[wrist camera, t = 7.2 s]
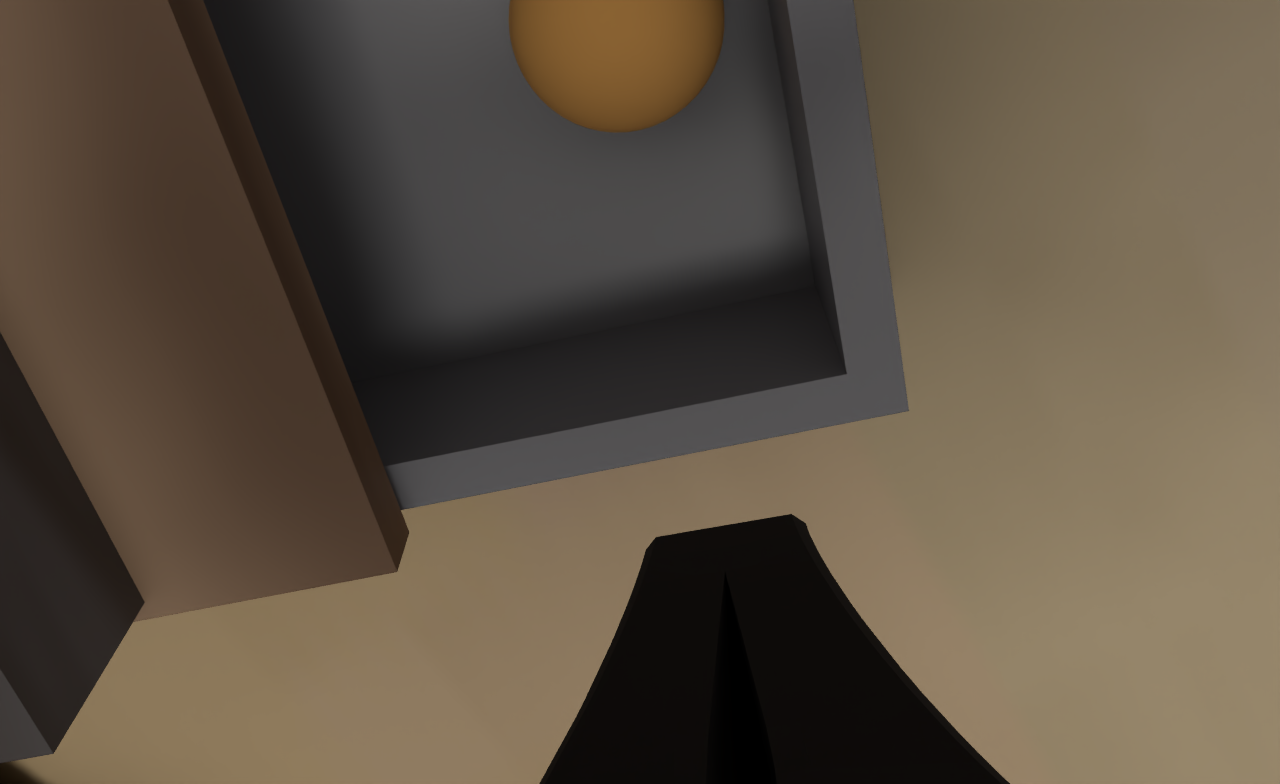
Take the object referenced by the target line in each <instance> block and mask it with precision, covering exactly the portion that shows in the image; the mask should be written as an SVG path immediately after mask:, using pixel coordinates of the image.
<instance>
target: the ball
mask: <svg viewBox="0 0 1280 784" xmlns="http://www.w3.org/2000/svg"><path fill="white" fill-rule="evenodd" d="M509 33H510V39H511V44H512V49H513V52H514V55H515V58H516V61H517V64H518V66H519V68H520V70H521V72H522V74H523V76H524V77H525V79H526V80H527V82H528V84H529V85H530V87H531V88H532V90H533V91H534V92H535V93H536V94H537V95H538V97H539V98H540V99H541V100H542V101H543V102H544V103H545V104H546V105H547V106H548V107H550V108H551V109H552V110H553V111H555V112H556V113H558V114H559V115H560V116H562V117H563V118H565V119H567V120H569V121H571V122H573V123H575V124H577V125H580V126H583V127H585V128H589V129H593V130H597V131H603V132H613V133H616V132H631V131H638V130H642V129H645V128H649V127H652V126H655V125H657V124H659V123H661V122H664V121H666V120H667V119H669V118H671V117H672V116H674V115H676V114H677V113H678V112H680V111H681V110H682V109H683V108H685V107H686V106H687V105H688V104H689V103H690V102H691V101H692V100H693V99H694V98H695V97H696V96H697V95H698V94H699V92H700V91H701V90H702V88H703V87H704V85H705V84H706V83H707V81H708V79H709V77H710V76H711V74H712V72H713V70H714V68H715V65H716V63H717V60H718V58H719V55H720V51H721V47H722V43H723V36H724V4H723V0H510V4H509Z"/></svg>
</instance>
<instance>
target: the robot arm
mask: <svg viewBox="0 0 1280 784" xmlns="http://www.w3.org/2000/svg"><path fill="white" fill-rule="evenodd" d="M540 784H1010V783H1009V782H1008V781H1006V780H1005V779H1004V778H1003V777H1002V776H1001V775H1000V774H999V773H998V772H997V771H996V770H995V769H994V768H993V767H992V766H991V765H990V764H989V763H988V762H987V761H986V760H985V759H984V758H983V757H982V756H981V755H980V754H979V753H978V752H977V751H976V750H975V749H974V748H973V747H972V746H971V745H970V744H969V743H968V742H967V741H966V740H965V739H964V738H963V737H962V736H961V735H960V734H959V733H958V732H957V730H956V729H955V728H954V727H953V726H952V725H951V724H950V723H949V722H948V721H947V720H946V718H945V717H944V716H943V715H942V714H941V713H940V712H939V711H938V710H937V709H936V708H935V706H934V705H933V704H932V703H931V702H930V701H929V700H928V699H927V698H926V697H925V696H924V694H923V693H922V692H921V691H920V690H919V689H918V687H917V686H916V685H915V684H914V683H913V682H912V680H911V679H910V678H909V677H908V676H907V675H906V673H905V672H904V671H903V670H902V669H901V668H900V666H899V665H898V664H897V663H896V661H895V660H894V659H893V657H892V656H891V655H890V654H889V652H888V651H887V650H886V649H885V647H884V646H883V645H882V644H881V642H880V641H879V640H878V639H877V637H876V636H875V635H874V633H873V632H872V631H871V630H870V628H869V627H868V626H867V625H866V623H865V622H864V621H863V619H862V618H861V617H860V615H859V614H858V612H857V611H856V610H855V608H854V607H853V606H852V604H851V603H850V601H849V600H848V598H847V597H846V595H845V594H844V592H843V591H842V589H841V588H840V586H839V585H838V583H837V582H836V580H835V579H834V577H833V576H832V574H831V573H830V571H829V569H828V568H827V566H826V564H825V563H824V561H823V559H822V558H821V556H820V554H819V552H818V550H817V548H816V546H815V544H814V542H813V540H812V538H811V536H810V534H809V531H808V529H807V526H806V523H804V522H803V521H801V520H800V519H798V518H797V517H795V516H794V515H792V514H789V515H783V516H777V517H772V518H766V519H760V520H754V521H748V522H742V523H736V524H730V525H724V526H719V527H713V528H707V529H701V530H695V531H689V532H683V533H677V534H672V535H666V536H660V537H656V538H655V539H654V540H653V542H652V543H651V544H650V545H649V547H648V548H647V549H646V552H645V555H644V559H643V562H642V565H641V568H640V571H639V574H638V577H637V580H636V583H635V586H634V588H633V591H632V594H631V596H630V599H629V602H628V604H627V607H626V609H625V612H624V614H623V617H622V619H621V621H620V624H619V626H618V629H617V631H616V633H615V636H614V638H613V641H612V643H611V645H610V647H609V649H608V651H607V654H606V656H605V658H604V660H603V662H602V664H601V666H600V669H599V671H598V673H597V675H596V677H595V679H594V681H593V684H592V686H591V688H590V690H589V692H588V694H587V696H586V699H585V701H584V703H583V705H582V707H581V709H580V710H579V712H578V714H577V716H576V718H575V720H574V722H573V724H572V726H571V727H570V729H569V731H568V733H567V735H566V736H565V738H564V740H563V742H562V744H561V746H560V747H559V749H558V751H557V753H556V755H555V756H554V758H553V760H552V762H551V764H550V766H549V767H548V769H547V771H546V773H545V775H544V776H543V778H542V780H541V782H540Z"/></svg>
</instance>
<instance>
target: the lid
mask: <svg viewBox="0 0 1280 784" xmlns="http://www.w3.org/2000/svg"><path fill="white" fill-rule="evenodd" d="M408 535H409V530H408V528H407V525H406V523H405V520H404V518H403V515H402V512H401V510H400V507H399V505H398V502H397V500H396V497H395V494H394V492H393V489H392V487H391V484H390V481H389V479H388V476H387V474H386V471H385V469H384V466H383V463H382V461H381V458H380V456H379V453H378V450H377V448H376V445H375V443H374V440H373V438H372V435H371V432H370V430H369V427H368V425H367V422H366V420H365V417H364V414H363V412H362V409H361V407H360V404H359V401H358V399H357V396H356V394H355V391H354V389H353V386H352V383H351V381H350V378H349V376H348V373H347V370H346V368H345V365H344V363H343V360H342V358H341V355H340V352H339V350H338V347H337V345H336V342H335V339H334V337H333V334H332V332H331V329H330V327H329V324H328V321H327V319H326V316H325V314H324V311H323V309H322V306H321V303H320V301H319V298H318V296H317V293H316V290H315V288H314V285H313V283H312V280H311V278H310V275H309V272H308V270H307V267H306V265H305V262H304V259H303V257H302V254H301V252H300V249H299V247H298V244H297V241H296V239H295V236H294V234H293V231H292V229H291V226H290V223H289V221H288V218H287V216H286V213H285V210H284V208H283V205H282V203H281V200H280V198H279V195H278V192H277V190H276V187H275V185H274V182H273V179H272V177H271V174H270V172H269V169H268V167H267V164H266V161H265V159H264V156H263V154H262V151H261V148H260V146H259V143H258V141H257V138H256V136H255V133H254V130H253V128H252V125H251V123H250V120H249V118H248V115H247V112H246V110H245V107H244V105H243V102H242V99H241V97H240V94H239V92H238V89H237V87H236V84H235V81H234V79H233V76H232V74H231V71H230V68H229V66H228V63H227V61H226V58H225V56H224V53H223V50H222V48H221V45H220V43H219V40H218V38H217V35H216V32H215V30H214V27H213V25H212V22H211V19H210V17H209V14H208V12H207V9H206V7H205V4H204V1H203V0H0V763H4V762H9V761H15V760H21V759H26V758H32V757H37V756H43V755H49V754H54V752H55V750H56V749H57V747H58V745H59V744H60V742H61V740H62V739H63V737H64V735H65V734H66V732H67V730H68V729H69V727H70V725H71V724H72V722H73V720H74V719H75V717H76V716H77V714H78V712H79V711H80V709H81V707H82V706H83V704H84V702H85V701H86V699H87V697H88V696H89V694H90V692H91V691H92V689H93V687H94V686H95V684H96V682H97V681H98V679H99V677H100V676H101V674H102V673H103V671H104V669H105V668H106V666H107V664H108V663H109V661H110V659H111V658H112V656H113V654H114V653H115V651H116V649H117V648H118V646H119V644H120V643H121V641H122V639H123V638H124V636H125V634H126V633H127V631H128V630H129V628H130V626H131V625H132V623H133V622H135V621H141V620H146V619H151V618H156V617H162V616H167V615H172V614H178V613H183V612H188V611H193V610H199V609H204V608H209V607H214V606H220V605H225V604H230V603H236V602H241V601H246V600H251V599H257V598H262V597H267V596H273V595H278V594H283V593H288V592H294V591H299V590H304V589H309V588H315V587H320V586H325V585H331V584H336V583H341V582H346V581H352V580H357V579H362V578H368V577H373V576H378V575H383V574H389V573H394V572H397V571H398V567H399V564H400V561H401V558H402V554H403V551H404V548H405V545H406V541H407V538H408Z"/></svg>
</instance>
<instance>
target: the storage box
mask: <svg viewBox="0 0 1280 784" xmlns="http://www.w3.org/2000/svg"><path fill="white" fill-rule="evenodd" d="M203 1H204V4H205V7H206V9H207V12H208V14H209V17H210V19H211V22H212V25H213V27H214V30H215V32H216V35H217V38H218V40H219V43H220V45H221V48H222V50H223V53H224V56H225V58H226V61H227V63H228V66H229V68H230V71H231V74H232V76H233V79H234V81H235V84H236V87H237V89H238V92H239V94H240V97H241V99H242V102H243V105H244V107H245V110H246V112H247V115H248V118H249V120H250V123H251V125H252V128H253V130H254V133H255V136H256V138H257V141H258V143H259V146H260V148H261V151H262V154H263V156H264V159H265V161H266V164H267V167H268V169H269V172H270V174H271V177H272V179H273V182H274V185H275V187H276V190H277V192H278V195H279V198H280V200H281V203H282V205H283V208H284V210H285V213H286V216H287V218H288V221H289V223H290V226H291V229H292V231H293V234H294V236H295V239H296V241H297V244H298V247H299V249H300V252H301V254H302V257H303V259H304V262H305V265H306V267H307V270H308V272H309V275H310V278H311V280H312V283H313V285H314V288H315V290H316V293H317V296H318V298H319V301H320V303H321V306H322V309H323V311H324V314H325V316H326V319H327V321H328V324H329V327H330V329H331V332H332V334H333V337H334V339H335V342H336V345H337V347H338V350H339V352H340V355H341V358H342V360H343V363H344V365H345V368H346V370H347V373H348V376H349V378H350V381H351V383H352V386H353V389H354V391H355V394H356V396H357V399H358V401H359V404H360V407H361V409H362V412H363V414H364V417H365V420H366V422H367V425H368V427H369V430H370V432H371V435H372V438H373V440H374V443H375V445H376V448H377V450H378V453H379V456H380V458H381V461H382V463H383V466H384V469H385V471H386V474H387V476H388V479H389V481H390V484H391V487H392V489H393V492H394V494H395V497H396V500H397V502H398V505H399V507H400V510H403V509H409V508H414V507H419V506H424V505H429V504H434V503H439V502H444V501H450V500H455V499H460V498H465V497H470V496H475V495H480V494H485V493H491V492H496V491H501V490H506V489H511V488H516V487H521V486H526V485H532V484H537V483H542V482H547V481H552V480H557V479H562V478H567V477H573V476H578V475H583V474H588V473H593V472H598V471H603V470H608V469H614V468H619V467H624V466H629V465H634V464H639V463H644V462H649V461H655V460H660V459H665V458H670V457H675V456H680V455H685V454H690V453H696V452H701V451H706V450H711V449H716V448H721V447H726V446H731V445H736V444H742V443H747V442H752V441H757V440H762V439H767V438H772V437H777V436H783V435H788V434H793V433H798V432H803V431H808V430H813V429H818V428H824V427H829V426H834V425H839V424H844V423H849V422H854V421H859V420H865V419H870V418H875V417H880V416H885V415H890V414H895V413H900V412H906V411H909V409H908V401H907V394H906V387H905V379H904V372H903V364H902V357H901V350H900V342H899V335H898V327H897V320H896V313H895V305H894V298H893V290H892V283H891V276H890V268H889V261H888V254H887V246H886V239H885V231H884V224H883V217H882V209H881V202H880V194H879V187H878V180H877V172H876V165H875V157H874V150H873V143H872V135H871V128H870V121H869V113H868V106H867V98H866V91H865V84H864V76H863V69H862V61H861V54H860V47H859V39H858V32H857V24H856V17H855V10H854V2H853V0H723V4H724V36H723V43H722V47H721V51H720V55H719V58H718V60H717V63H716V65H715V68H714V70H713V72H712V74H711V76H710V77H709V79H708V81H707V83H706V84H705V85H704V87H703V88H702V90H701V91H700V92H699V94H698V95H697V96H696V97H695V98H694V99H693V100H692V101H691V102H690V103H689V104H688V105H687V106H686V107H685V108H683V109H682V110H681V111H680V112H678V113H677V114H676V115H674V116H672V117H671V118H669V119H667V120H666V121H664V122H661V123H659V124H657V125H655V126H652V127H649V128H645V129H642V130H638V131H631V132H616V133H613V132H603V131H597V130H593V129H589V128H585V127H583V126H580V125H577V124H575V123H573V122H571V121H569V120H567V119H565V118H563V117H562V116H560V115H559V114H558V113H556V112H555V111H553V110H552V109H551V108H550V107H548V106H547V105H546V104H545V103H544V102H543V101H542V100H541V99H540V98H539V97H538V95H537V94H536V93H535V92H534V91H533V90H532V88H531V87H530V85H529V84H528V82H527V80H526V79H525V77H524V76H523V74H522V72H521V70H520V68H519V66H518V64H517V61H516V58H515V55H514V52H513V49H512V44H511V39H510V33H509V4H510V0H203Z"/></svg>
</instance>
